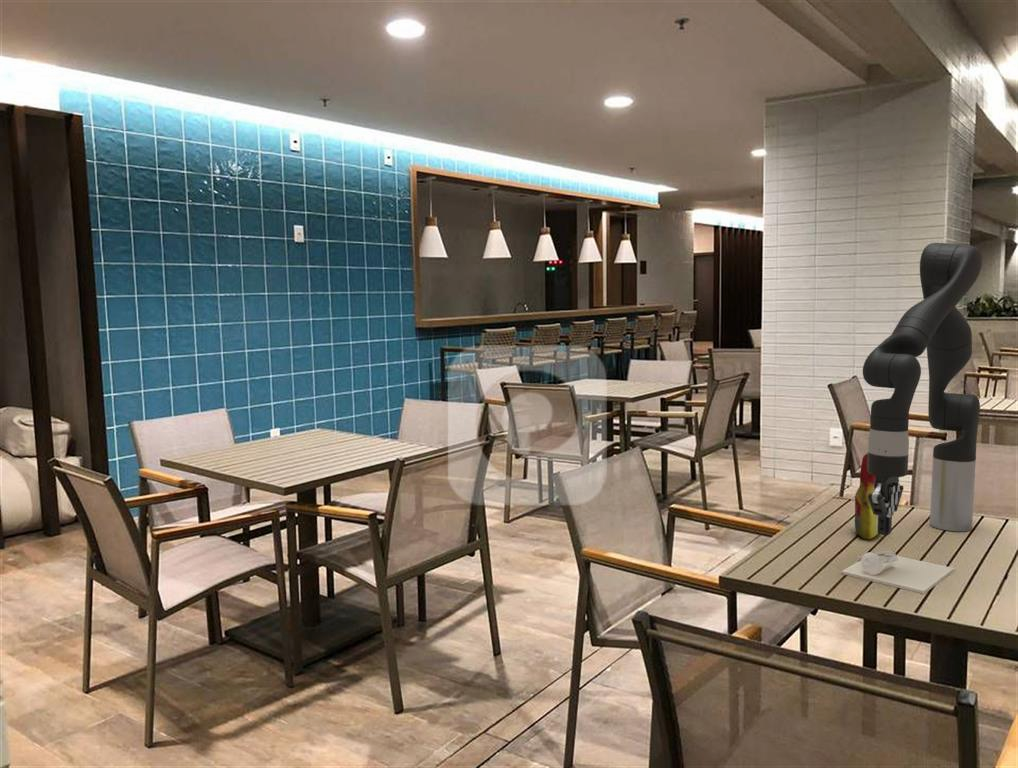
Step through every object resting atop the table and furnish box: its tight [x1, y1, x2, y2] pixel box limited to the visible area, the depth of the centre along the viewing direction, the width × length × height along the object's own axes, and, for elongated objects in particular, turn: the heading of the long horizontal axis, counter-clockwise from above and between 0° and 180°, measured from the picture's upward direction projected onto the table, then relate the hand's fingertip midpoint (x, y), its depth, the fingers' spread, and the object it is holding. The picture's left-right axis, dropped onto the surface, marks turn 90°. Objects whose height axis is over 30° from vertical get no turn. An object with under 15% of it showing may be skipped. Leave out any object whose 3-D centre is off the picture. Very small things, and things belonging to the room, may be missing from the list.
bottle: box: [854, 453, 879, 540], centre depth 191 cm, size 12×6×20 cm, turn 150°
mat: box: [841, 550, 955, 595], centre depth 166 cm, size 18×16×1 cm
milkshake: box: [860, 550, 898, 575], centre depth 165 cm, size 4×5×10 cm
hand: (884, 533), depth 165 cm, fingers closed
